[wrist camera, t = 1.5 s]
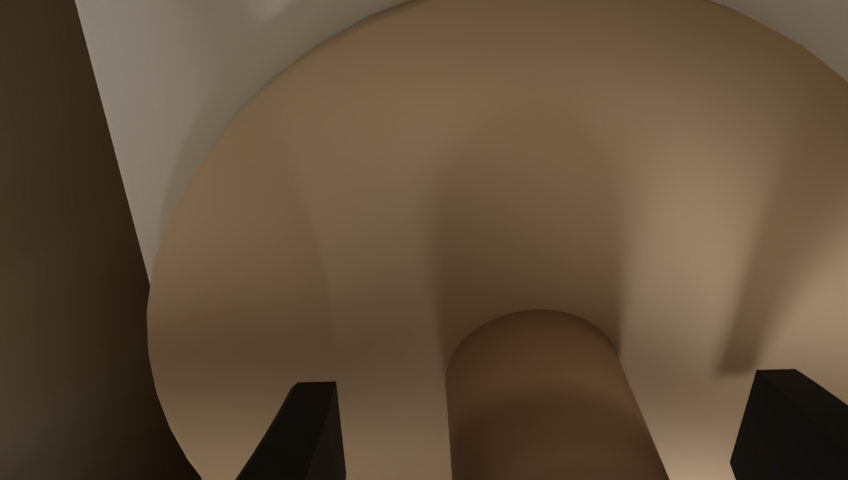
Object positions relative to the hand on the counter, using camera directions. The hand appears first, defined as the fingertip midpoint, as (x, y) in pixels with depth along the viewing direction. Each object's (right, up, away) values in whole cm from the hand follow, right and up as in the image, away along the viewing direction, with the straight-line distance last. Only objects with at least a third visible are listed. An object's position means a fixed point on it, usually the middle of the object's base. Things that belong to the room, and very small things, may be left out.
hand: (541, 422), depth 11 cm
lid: (0, +1, +2) cm, 2 cm away
